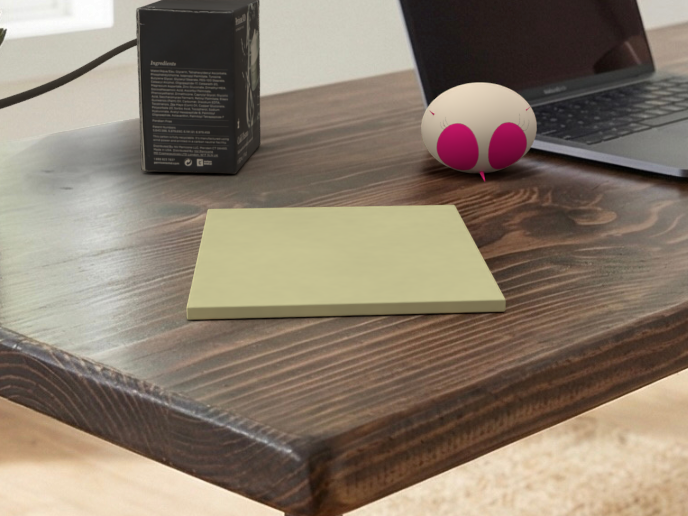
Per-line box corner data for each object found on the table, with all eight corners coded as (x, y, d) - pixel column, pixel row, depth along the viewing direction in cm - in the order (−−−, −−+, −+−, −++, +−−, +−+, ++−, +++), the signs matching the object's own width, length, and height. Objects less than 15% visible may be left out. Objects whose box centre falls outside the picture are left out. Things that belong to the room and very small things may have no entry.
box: (240, 176, 84) (234, 9, 80) (139, 174, 84) (128, 8, 80) (265, 144, 94) (260, -5, 90) (175, 143, 94) (166, -6, 90)
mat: (208, 219, 73) (207, 208, 73) (454, 214, 75) (454, 204, 74) (186, 320, 56) (186, 307, 56) (505, 312, 58) (506, 299, 58)
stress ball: (425, 226, 85) (424, 155, 80) (419, 138, 90) (418, 65, 84) (540, 221, 85) (547, 150, 80) (528, 134, 90) (534, 61, 84)
